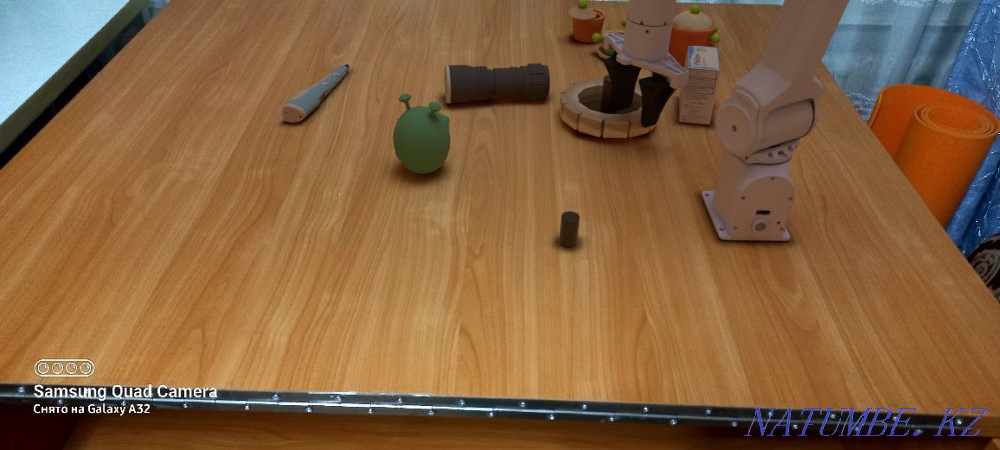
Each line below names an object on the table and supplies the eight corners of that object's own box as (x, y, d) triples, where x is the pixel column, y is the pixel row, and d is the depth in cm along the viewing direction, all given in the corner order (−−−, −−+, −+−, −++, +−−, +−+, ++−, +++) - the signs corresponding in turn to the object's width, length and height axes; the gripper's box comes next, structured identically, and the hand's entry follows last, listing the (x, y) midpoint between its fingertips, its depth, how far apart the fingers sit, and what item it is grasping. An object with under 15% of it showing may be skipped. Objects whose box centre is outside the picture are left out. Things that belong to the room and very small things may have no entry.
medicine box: (709, 126, 105) (721, 69, 100) (677, 122, 106) (687, 65, 101) (708, 102, 111) (719, 47, 106) (678, 98, 112) (687, 44, 107)
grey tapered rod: (302, 126, 102) (299, 107, 100) (281, 123, 103) (278, 104, 101) (357, 70, 117) (355, 53, 116) (338, 68, 118) (336, 51, 116)
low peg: (577, 247, 81) (580, 221, 79) (559, 247, 81) (562, 221, 79) (576, 236, 83) (578, 211, 81) (558, 236, 83) (560, 210, 81)
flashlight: (544, 88, 114) (546, 55, 110) (551, 104, 109) (554, 70, 106) (444, 93, 111) (443, 59, 108) (447, 109, 107) (447, 74, 104)
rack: (643, 136, 102) (650, 93, 98) (578, 135, 102) (583, 91, 98) (633, 106, 109) (639, 65, 106) (573, 105, 109) (576, 64, 105)
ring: (666, 139, 100) (668, 123, 98) (563, 137, 99) (565, 121, 98) (649, 93, 111) (651, 78, 109) (556, 92, 111) (558, 77, 109)
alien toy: (463, 161, 95) (462, 90, 90) (433, 190, 90) (430, 116, 84) (416, 148, 98) (413, 78, 92) (384, 175, 92) (378, 102, 86)
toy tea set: (712, 37, 132) (723, -17, 127) (724, 73, 120) (736, 15, 114) (566, 28, 134) (570, -26, 129) (562, 63, 122) (567, 5, 116)
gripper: (589, 5, 95) (580, 101, 103) (663, 44, 85) (647, 147, 93) (632, -3, 98) (620, 91, 106) (709, 33, 88) (689, 134, 96)
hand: (635, 116), depth 100 cm, fingers open, 5 cm apart
